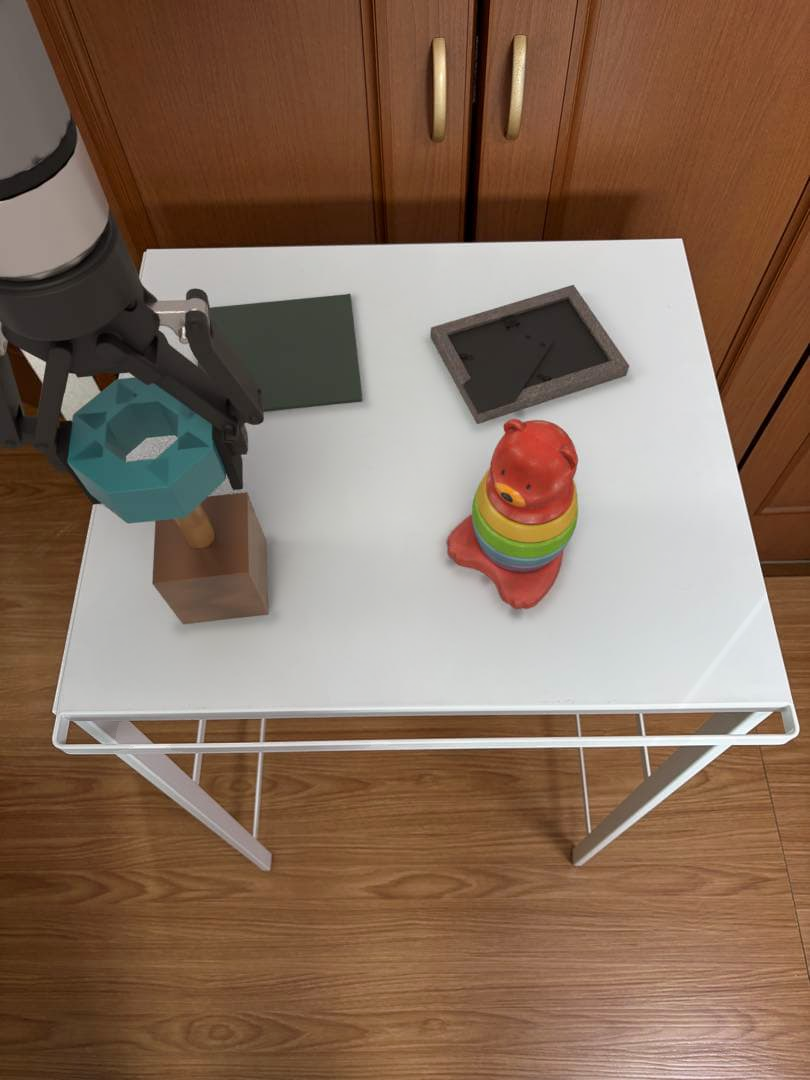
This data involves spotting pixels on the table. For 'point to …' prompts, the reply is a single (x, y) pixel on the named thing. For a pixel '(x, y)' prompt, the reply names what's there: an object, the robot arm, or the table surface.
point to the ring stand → (212, 561)
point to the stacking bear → (522, 512)
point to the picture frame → (527, 353)
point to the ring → (152, 483)
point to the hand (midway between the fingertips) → (168, 481)
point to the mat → (296, 349)
